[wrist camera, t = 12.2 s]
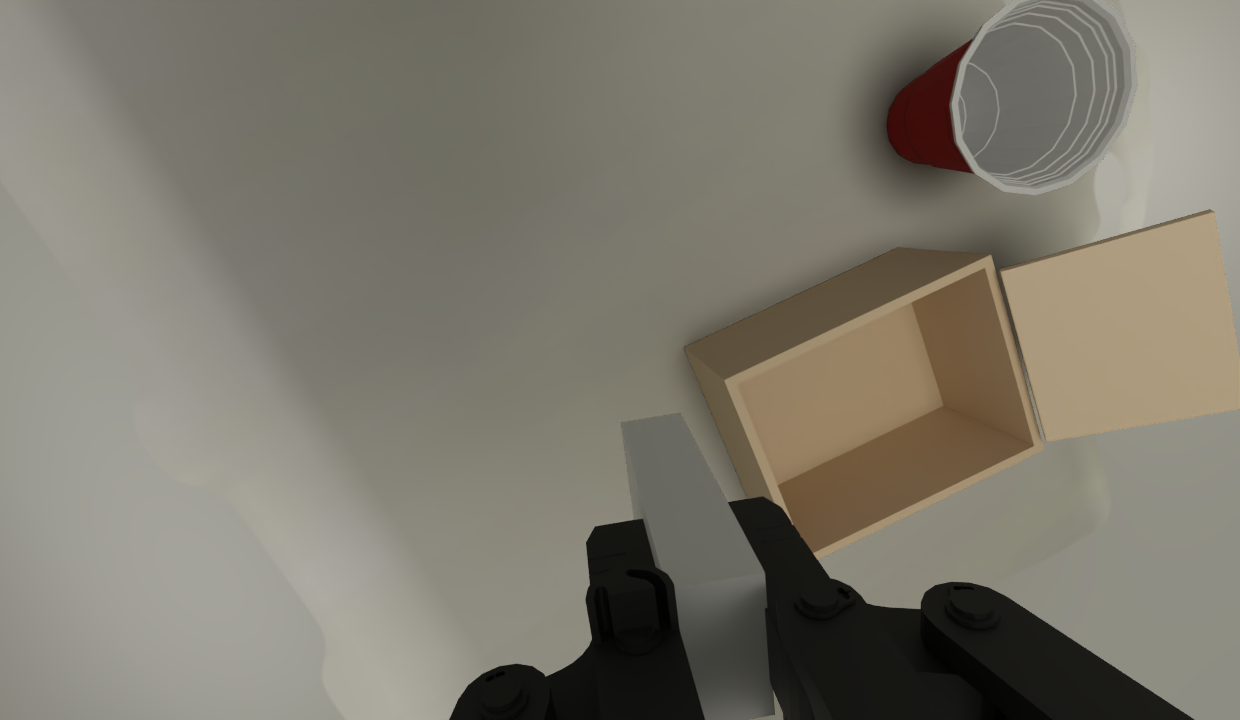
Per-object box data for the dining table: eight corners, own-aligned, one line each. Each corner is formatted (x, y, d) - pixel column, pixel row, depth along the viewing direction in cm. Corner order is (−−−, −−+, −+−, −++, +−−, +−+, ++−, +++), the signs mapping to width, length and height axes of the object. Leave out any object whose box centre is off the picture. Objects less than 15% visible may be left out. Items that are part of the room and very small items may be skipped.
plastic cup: (821, 134, 46) (921, 105, 34) (920, 9, 45) (1059, -64, 33) (920, 231, 48) (1044, 234, 37) (1016, 115, 47) (1175, 82, 36)
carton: (683, 347, 47) (724, 380, 38) (897, 247, 48) (991, 254, 38) (749, 501, 51) (801, 568, 41) (947, 406, 52) (1044, 449, 42)
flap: (1000, 272, 38) (1214, 211, 33) (999, 269, 39) (1209, 209, 34) (1046, 441, 41) (1248, 408, 37) (1044, 437, 42) (1243, 403, 37)
